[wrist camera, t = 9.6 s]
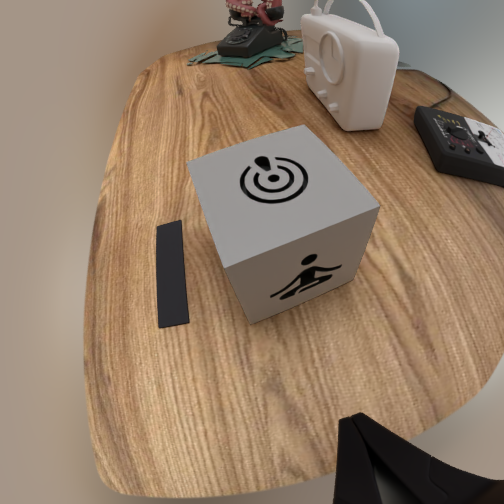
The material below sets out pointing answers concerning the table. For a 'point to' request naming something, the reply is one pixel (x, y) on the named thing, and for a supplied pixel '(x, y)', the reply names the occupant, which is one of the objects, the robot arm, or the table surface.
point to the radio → (349, 67)
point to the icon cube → (283, 218)
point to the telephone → (253, 35)
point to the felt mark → (170, 276)
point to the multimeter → (462, 145)
